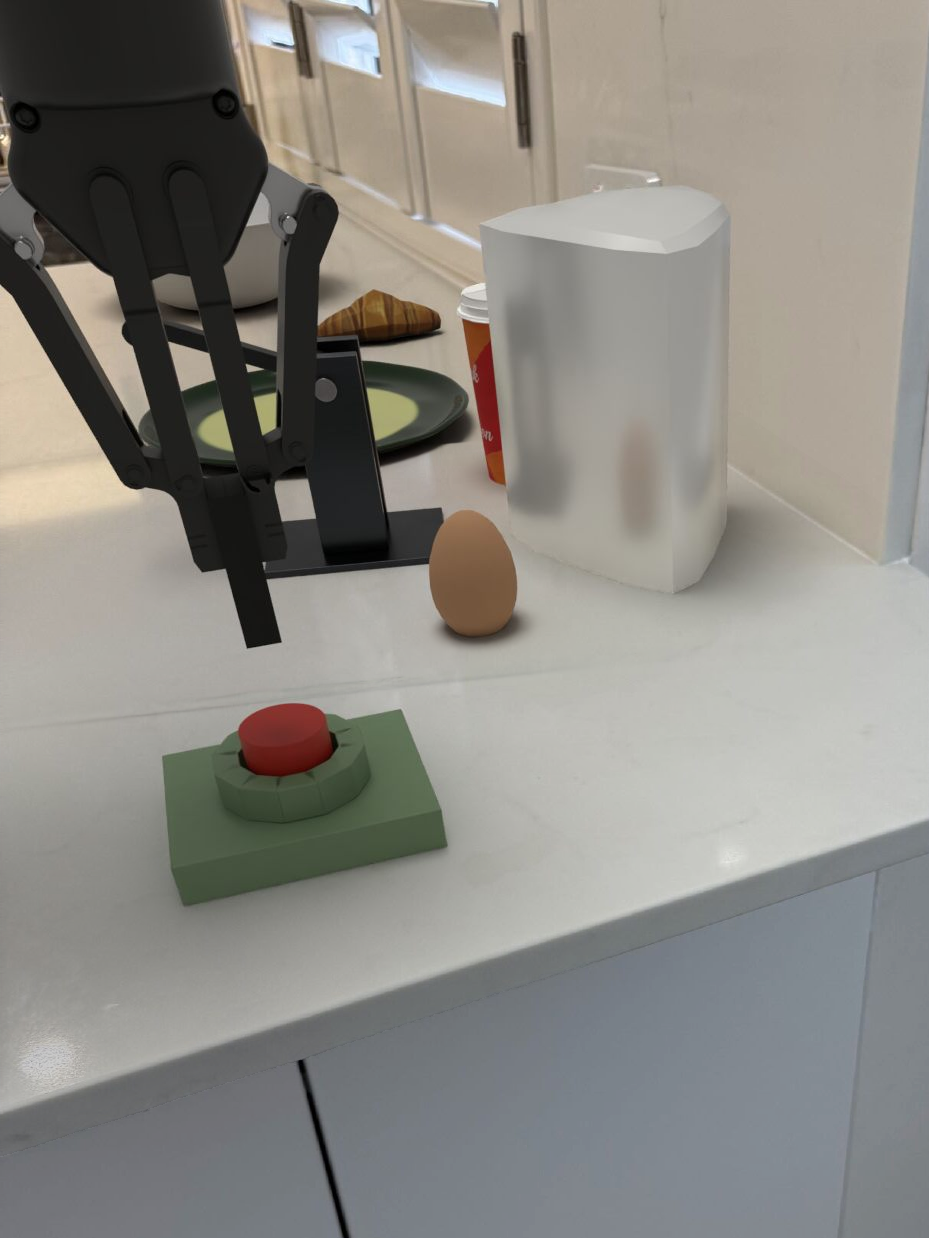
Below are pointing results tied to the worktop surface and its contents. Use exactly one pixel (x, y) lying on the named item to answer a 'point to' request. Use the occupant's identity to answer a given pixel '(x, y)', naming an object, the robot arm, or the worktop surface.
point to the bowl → (237, 268)
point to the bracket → (349, 484)
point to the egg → (472, 575)
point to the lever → (198, 342)
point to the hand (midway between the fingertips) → (261, 632)
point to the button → (285, 739)
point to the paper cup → (483, 375)
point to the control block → (298, 811)
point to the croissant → (380, 319)
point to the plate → (397, 399)
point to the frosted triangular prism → (614, 379)
